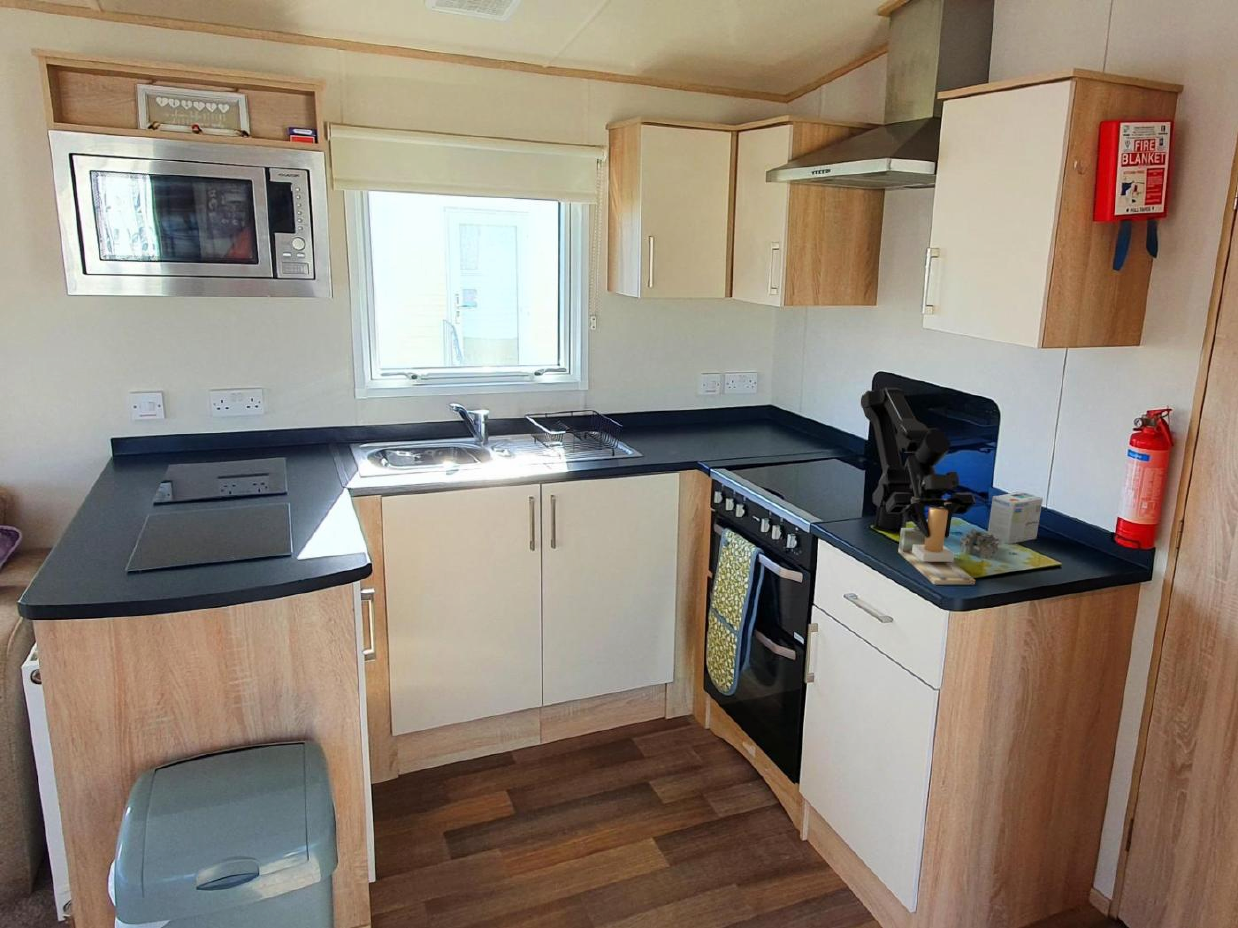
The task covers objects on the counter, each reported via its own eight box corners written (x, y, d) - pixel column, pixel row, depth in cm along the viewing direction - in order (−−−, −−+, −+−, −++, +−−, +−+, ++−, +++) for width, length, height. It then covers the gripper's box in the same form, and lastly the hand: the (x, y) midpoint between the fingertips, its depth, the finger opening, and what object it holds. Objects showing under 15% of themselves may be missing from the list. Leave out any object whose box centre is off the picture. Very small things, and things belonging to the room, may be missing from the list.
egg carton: (988, 561, 198) (991, 544, 197) (955, 553, 203) (958, 536, 202) (1002, 548, 207) (1004, 532, 206) (969, 541, 211) (972, 525, 210)
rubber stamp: (911, 551, 196) (917, 505, 193) (941, 552, 197) (947, 505, 194) (922, 561, 190) (929, 513, 187) (953, 561, 191) (960, 514, 188)
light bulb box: (1014, 531, 220) (1020, 490, 217) (1037, 539, 214) (1044, 497, 211) (985, 536, 215) (991, 495, 212) (1008, 545, 209) (1015, 502, 206)
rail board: (897, 551, 202) (900, 525, 200) (934, 551, 203) (937, 525, 201) (933, 584, 182) (937, 556, 181) (974, 584, 183) (978, 556, 182)
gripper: (896, 457, 191) (910, 520, 183) (977, 458, 192) (994, 521, 185) (879, 482, 200) (892, 542, 193) (956, 482, 202) (972, 543, 194)
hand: (937, 537), depth 191 cm, fingers closed on rubber stamp, 4 cm apart
